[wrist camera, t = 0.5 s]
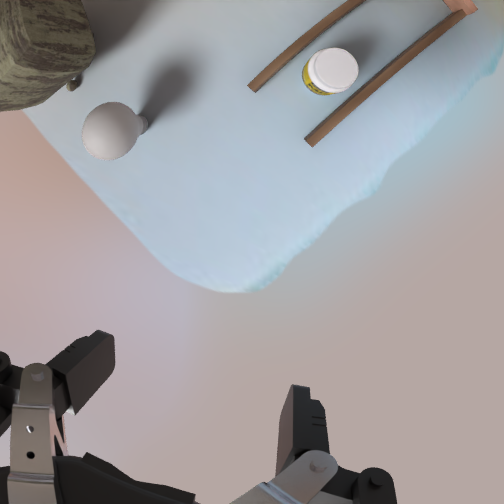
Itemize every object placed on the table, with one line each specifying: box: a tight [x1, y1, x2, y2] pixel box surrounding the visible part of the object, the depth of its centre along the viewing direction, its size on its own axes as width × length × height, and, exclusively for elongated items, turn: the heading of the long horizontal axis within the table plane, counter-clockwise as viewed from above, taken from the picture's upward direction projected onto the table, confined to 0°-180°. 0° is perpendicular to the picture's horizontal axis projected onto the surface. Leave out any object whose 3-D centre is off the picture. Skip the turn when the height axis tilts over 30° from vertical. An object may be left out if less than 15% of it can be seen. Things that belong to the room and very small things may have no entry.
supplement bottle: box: [302, 48, 359, 95], centre depth 25 cm, size 5×5×8 cm
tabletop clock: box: [0, 0, 96, 112], centre depth 16 cm, size 14×9×25 cm, turn 20°
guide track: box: [247, 0, 478, 147], centre depth 24 cm, size 10×32×4 cm, turn 136°
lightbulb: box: [82, 102, 148, 160], centre depth 28 cm, size 6×6×11 cm
